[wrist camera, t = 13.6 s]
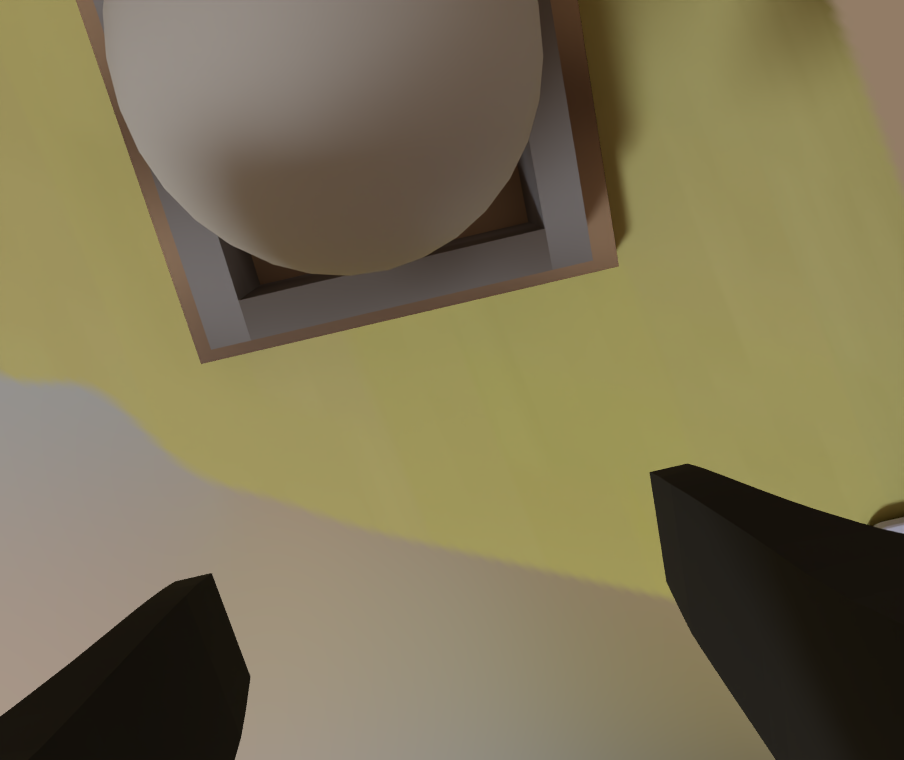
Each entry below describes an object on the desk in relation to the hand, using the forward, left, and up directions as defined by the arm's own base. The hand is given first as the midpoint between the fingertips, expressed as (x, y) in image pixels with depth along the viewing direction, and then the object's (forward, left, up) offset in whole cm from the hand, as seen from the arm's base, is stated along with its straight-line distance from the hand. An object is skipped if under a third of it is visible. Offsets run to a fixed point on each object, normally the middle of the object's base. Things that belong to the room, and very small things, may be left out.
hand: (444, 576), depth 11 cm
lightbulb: (+8, 0, -10) cm, 12 cm away
